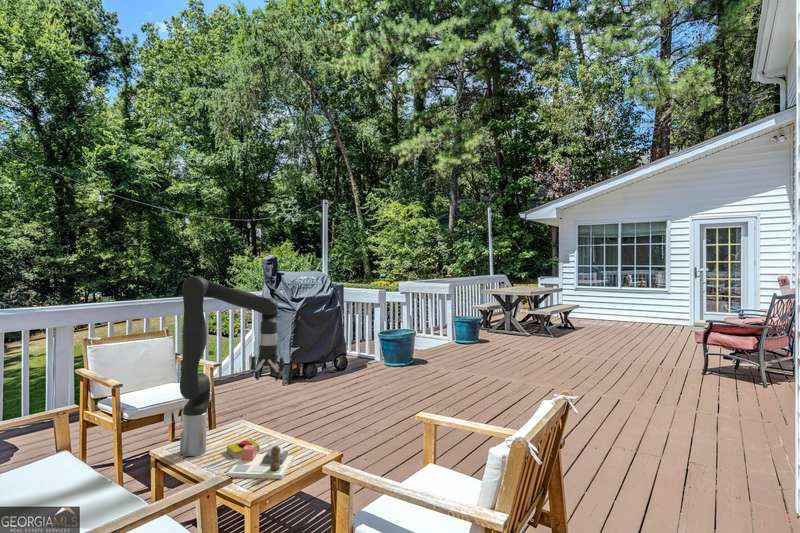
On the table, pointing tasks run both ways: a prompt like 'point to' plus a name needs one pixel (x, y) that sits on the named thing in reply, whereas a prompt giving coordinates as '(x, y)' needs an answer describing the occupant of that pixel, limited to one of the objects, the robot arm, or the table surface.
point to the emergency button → (238, 449)
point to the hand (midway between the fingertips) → (267, 379)
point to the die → (249, 452)
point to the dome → (271, 452)
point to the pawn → (275, 459)
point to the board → (261, 467)
